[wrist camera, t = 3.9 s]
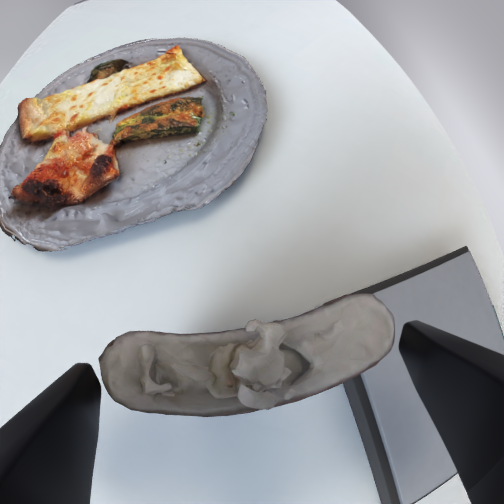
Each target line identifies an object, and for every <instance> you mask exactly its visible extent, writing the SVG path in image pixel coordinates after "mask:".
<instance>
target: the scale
mask: <svg viewBox="0 0 504 504" xmlns="http://www.w3.org/2000/svg"><path fill="white" fill-rule="evenodd" d="M362 293H363V294H374V295H375V297H376V298H377V299H379V300H381V301H382V302H383V303H384V304H385V305H386V307H387V308H388V309H389V310H390V312H391V313H392V314H393V316H394V319H395V341H394V344H393V347H392V349H391V351H390V352H389V353H388V354H387V355H386V356H385V357H384V358H383V359H382V360H380V361H379V363H378V364H377V365H376V366H374V367H372V368H370V369H368V370H366V371H365V372H363V373H361V374H360V375H358V376H356V377H354V378H352V379H350V380H348V381H346V382H344V383H343V385H344V388H345V391H346V394H347V397H348V400H349V403H350V405H351V408H352V411H353V414H354V417H355V420H356V423H357V426H358V429H359V432H360V435H361V439H362V442H363V445H364V448H365V451H366V454H367V457H368V460H369V464H370V467H371V470H372V473H373V477H374V480H375V483H376V486H377V490H378V493H379V496H380V500H381V503H382V504H414V503H416V502H417V501H419V500H421V499H422V498H424V497H425V496H427V495H428V494H430V493H431V492H433V491H434V490H436V489H437V488H438V487H440V486H441V485H443V484H444V483H445V482H447V481H448V480H449V479H451V478H452V477H453V476H455V475H456V474H457V473H458V472H457V470H456V468H455V466H454V463H453V461H452V459H451V457H450V455H449V453H448V451H447V449H446V447H445V445H444V443H443V441H442V439H441V437H440V435H439V433H438V431H437V429H436V427H435V425H434V423H433V421H432V419H431V417H430V416H429V414H428V412H427V410H426V408H425V406H424V404H423V402H422V401H421V399H420V397H419V395H418V393H417V391H416V389H415V387H414V385H413V382H412V380H411V377H410V375H409V373H408V370H407V368H406V366H405V363H404V361H403V359H402V356H401V354H400V352H399V340H400V336H401V332H402V328H403V325H404V324H405V323H406V322H409V321H413V320H419V321H421V322H424V323H426V324H429V325H431V326H433V327H436V328H438V329H441V330H443V331H446V332H448V333H451V334H453V335H456V336H458V337H461V338H463V339H466V340H468V341H471V342H473V343H476V344H478V345H481V346H483V347H486V348H488V349H491V350H493V351H496V352H498V353H501V354H503V355H504V336H503V333H502V330H501V327H500V324H499V321H498V318H497V315H496V312H495V309H494V306H493V305H492V303H491V300H490V298H489V295H488V293H487V290H486V288H485V285H484V283H483V280H482V278H481V276H480V273H479V271H478V269H477V266H476V264H475V262H474V260H473V258H472V255H471V253H470V251H469V250H468V248H467V246H465V247H463V248H460V249H458V250H456V251H454V252H452V253H449V254H447V255H445V256H443V257H440V258H438V259H436V260H434V261H431V262H429V263H427V264H424V265H422V266H420V267H417V268H415V269H413V270H410V271H408V272H405V273H403V274H400V275H398V276H395V277H393V278H391V279H388V280H386V281H383V282H380V283H378V284H375V285H373V286H370V287H368V288H365V289H362V290H360V291H357V292H354V293H352V294H349V295H354V294H362ZM327 303H328V302H327ZM327 303H325V304H327ZM325 304H324V305H325ZM322 306H323V305H322Z"/></svg>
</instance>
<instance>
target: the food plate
mask: <svg viewBox="0 0 504 504" xmlns="http://www.w3.org/2000/svg"><path fill="white" fill-rule="evenodd" d="M146 40H150V39H145V40H140V41H136V42H133V43H135V44H133V43H129V44H125V45H122V46H119V47H116V48H113V49H112V50H108V51H106V52H104V53H101V54H99V55H97V56H100V57H97V56H94V57H96V58H94V57H92V59H91V58H90V59H88V60H89V61H87V60H86V61H84V63H81V64H77V65H76V66H74V67H73V68H70V69H69V70H67V71H66V72H64V73H63V74H61V75H60V76H58V77H57V78H56V79H54V80H53V81H52V82H51V83H49V84H48V85H47V86H46V87H45V88H44V89H43V90H42V91H41V92H40V93H39V94H37V95H36V96H35V97H34V98H26V99H24V100H22V102H21V103H20V104H19V105H18V117H17V119H16V120H15V122H14V123H13V124H12V126H10V128H9V130H8V131H7V132H6V134H5V136H4V139H3V142H2V144H1V145H0V227H1V229H2V231H3V232H5V234H7V235H8V236H11V238H12V235H14V236H15V239H17V240H19V241H20V242H21V243H22V244H24V245H26V244H31V245H33V246H34V248H35V249H36V250H38V251H50V252H51V251H58V250H64V249H65V248H64V247H66V246H75V245H78V244H81V243H83V242H84V241H91V240H92V239H96V238H101V237H103V236H107V235H111V234H114V233H118V232H123V231H124V230H125V229H126V228H129V227H131V226H135V225H138V224H145V223H146V222H154V221H155V220H156V219H158V218H160V217H162V216H166V215H168V214H170V213H171V212H172V210H174V211H182V209H184V208H187V207H190V206H193V207H190V208H187V209H184V210H193V209H199V208H202V207H204V206H205V205H206V204H208V203H209V202H210V201H212V200H213V199H215V198H216V197H218V196H219V195H220V194H221V193H222V192H223V190H226V189H227V188H228V187H229V186H230V185H232V184H233V181H236V180H237V179H238V178H239V176H240V175H241V174H242V173H243V171H244V170H245V168H246V166H247V165H248V164H249V163H250V161H251V159H252V154H254V153H253V152H255V149H256V146H257V145H258V143H257V141H258V137H259V134H260V133H261V131H262V128H263V126H264V123H265V121H266V120H267V119H266V116H267V115H266V113H267V102H266V91H265V90H264V89H263V85H262V84H261V81H260V79H259V77H258V75H256V73H255V72H254V70H253V69H252V68H251V66H250V65H249V63H248V62H247V60H246V59H245V58H244V57H243V56H241V55H239V54H237V53H234V52H232V51H230V50H227V49H226V48H225V47H223V46H222V45H219V44H215V43H212V42H209V41H205V40H198V39H192V38H173V39H157V38H155V40H150V41H146ZM142 41H146V42H142ZM137 42H140V43H137ZM130 44H132V45H130ZM127 45H128V46H127ZM12 239H13V238H12ZM14 241H15V240H14ZM60 248H64V249H60Z"/></svg>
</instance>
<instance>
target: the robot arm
mask: <svg viewBox="0 0 504 504" xmlns="http://www.w3.org/2000/svg"><path fill="white" fill-rule="evenodd" d="M399 352H400V354H401V356H402V359H403V361H404V363H405V366H406V368H407V370H408V373H409V375H410V377H411V380H412V382H413V385H414V387H415V389H416V391H417V393H418V395H419V397H420V399H421V401H422V402H423V404H424V406H425V408H426V410H427V412H428V414H429V416H430V417H431V419H432V421H433V423H434V425H435V427H436V429H437V431H438V433H439V435H440V437H441V439H442V441H443V443H444V445H445V447H446V449H447V451H448V453H449V455H450V457H451V459H452V461H453V463H454V466H455V468H456V470H457V472H458V474H459V476H460V478H461V481H462V483H463V485H464V487H465V490H466V492H467V495H468V497H469V499H470V502H471V504H504V355H503V354H501V353H498V352H496V351H493V350H491V349H488V348H486V347H483V346H481V345H478V344H476V343H473V342H471V341H468V340H466V339H463V338H461V337H458V336H456V335H453V334H451V333H448V332H446V331H443V330H441V329H438V328H436V327H433V326H431V325H429V324H426V323H424V322H421V321H419V320H413V321H409V322H406V323H405V324H404V325H403V328H402V332H401V336H400V340H399ZM100 402H101V385H100V382H99V380H98V378H97V376H96V374H95V372H94V370H93V368H92V366H91V365H90V364H89V363H76V364H75V365H74V366H72V367H71V368H70V369H69V370H68V371H66V372H65V373H64V374H63V375H62V376H60V377H59V378H58V379H57V380H56V381H55V382H53V383H52V384H51V385H50V386H49V387H47V388H46V389H45V390H44V391H43V392H42V393H40V394H39V395H38V396H37V397H36V398H35V399H33V400H32V401H31V402H30V403H29V404H28V405H26V406H25V407H24V408H23V409H22V410H21V411H19V412H18V413H17V414H16V415H15V416H14V417H12V418H11V419H10V420H9V421H8V422H7V423H6V424H4V425H3V426H2V427H1V428H0V504H90V496H91V486H92V477H93V469H94V462H95V455H96V448H97V441H98V432H99V416H100Z"/></svg>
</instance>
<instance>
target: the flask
mask: <svg viewBox="0 0 504 504" xmlns="http://www.w3.org/2000/svg"><path fill="white" fill-rule="evenodd" d="M394 341H395V319H394V316H393V314H392V313H391V312H390V310H389V309H388V308H387V307H386V305H385V304H384V303H383V302H382V301H381V300H379V299H377V298H376V297H375V295H374V294H363V293H362V294H354V295H344V296H342V297H340V298H337V299H335V300H332V301H329V302H328V303H327V304H325V305H323V306H321V307H318V308H316V309H314V310H311V311H309V312H306V313H304V314H301V315H299V316H296V317H293V318H289V319H285V320H281V321H273V322H270V323H264V322H261V321H259V320H251V321H249V322H248V323H247V325H246V328H241V329H236V330H228V331H223V332H214V333H198V334H174V333H163V332H155V331H129V332H127V333H125V334H123V335H120V336H118V337H116V339H115V340H113V341H111V342H110V343H109V344H108V345H107V347H106V348H105V350H104V351H103V353H102V354H101V356H100V357H99V364H100V370H101V376H102V381H103V383H104V386H105V388H106V390H107V392H108V394H109V395H110V396H111V398H112V399H113V400H114V401H115V402H117V403H119V404H121V405H123V406H125V407H126V408H128V409H130V410H135V411H140V412H146V413H158V414H165V415H183V416H201V417H212V416H229V415H236V414H243V413H250V412H254V411H258V410H263V409H268V410H269V409H271V408H273V407H277V406H281V405H285V404H288V403H293V402H297V401H300V400H302V399H305V398H307V397H310V396H313V395H316V394H319V393H321V392H323V391H326V390H329V389H331V388H333V387H335V386H337V385H340V384H342V383H344V382H346V381H348V380H350V379H352V378H354V377H356V376H358V375H360V374H361V373H363V372H365V371H366V370H368V369H370V368H372V367H374V366H376V365H377V364H378V363H379V361H380V360H382V359H383V358H384V357H385V356H386V355H387V354H388V353H389V352H390V351H391V349H392V347H393V344H394Z"/></svg>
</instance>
